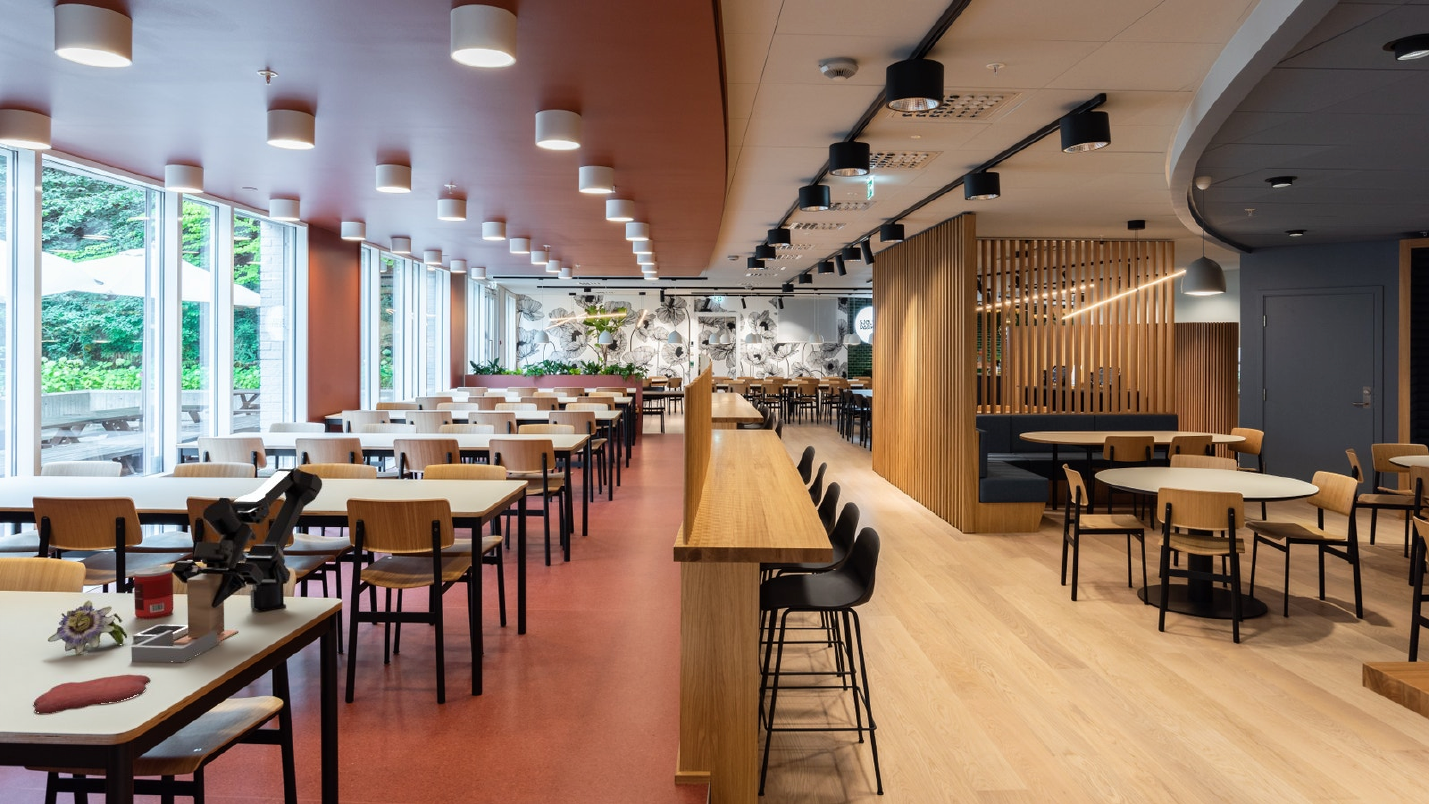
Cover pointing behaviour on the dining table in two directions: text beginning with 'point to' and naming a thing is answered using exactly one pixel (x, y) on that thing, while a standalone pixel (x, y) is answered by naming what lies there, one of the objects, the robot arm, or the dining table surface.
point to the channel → (171, 648)
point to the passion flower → (87, 627)
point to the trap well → (160, 628)
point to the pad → (187, 640)
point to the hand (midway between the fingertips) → (201, 606)
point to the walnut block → (204, 605)
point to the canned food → (153, 592)
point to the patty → (90, 693)
